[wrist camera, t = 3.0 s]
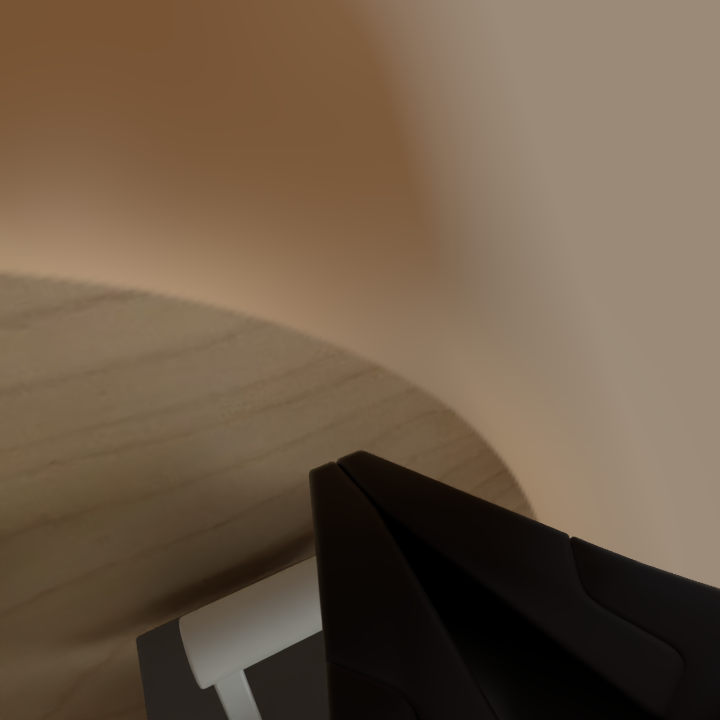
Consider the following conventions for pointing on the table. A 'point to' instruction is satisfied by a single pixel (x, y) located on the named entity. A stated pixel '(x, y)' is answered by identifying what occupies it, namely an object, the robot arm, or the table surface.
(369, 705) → the robot arm
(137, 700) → the table surface
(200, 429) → the table surface
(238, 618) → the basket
